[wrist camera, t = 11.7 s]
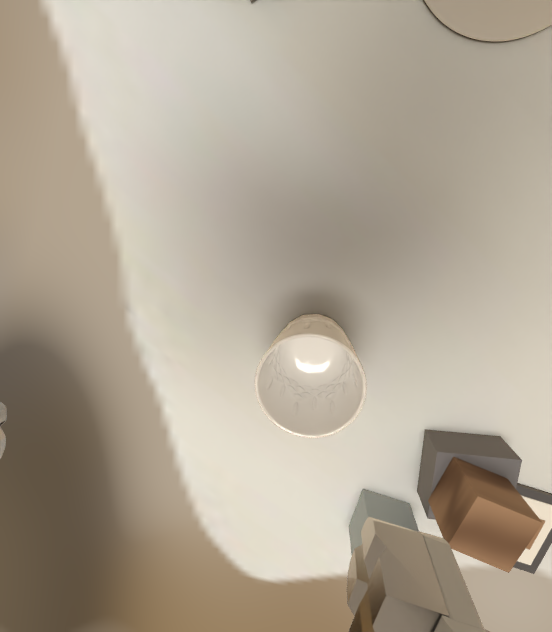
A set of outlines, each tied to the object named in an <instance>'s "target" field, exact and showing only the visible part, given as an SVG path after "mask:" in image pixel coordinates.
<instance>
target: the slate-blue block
mask: <svg viewBox="0 0 552 632" xmlns="http://www.w3.org/2000/svg"><path fill="white" fill-rule="evenodd" d="M368 517H372V518H375V519H378V520H382V521H385V522H388V523H391V524H395V525H398V526H401V527H405V528H408V529H411V530H414V531H417V532H418V531H419V530H418V527H417V524H416V521H415V518H414V515H413V513H412V510H411V507H410V504H409V503H407V502H403V501H400V500H397V499H394V498H391V497H388V496H384V495H381V494H378V493H375V492H372V491H369V490H365V489H363V490H362V493H361V495H360V498H359V501H358V503H357V506H356V509H355V511H354V514H353V517H352V519H351V522H350V525H349V532H350V543H351V553H352V555H353V552H354V549H355V548H357V547H358V546H360V545H362V536H361V530H362V528H363V525H364V523H365V521H366V520H367V518H368Z"/></svg>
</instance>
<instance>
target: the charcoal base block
mask: <svg viewBox="0 0 552 632" xmlns="http://www.w3.org/2000/svg"><path fill="white" fill-rule="evenodd" d="M453 457H456V458H458V459H461V460H463V461H466V462H468V463H471V464H473V465H475V466H478V467H480V468H483V469H485V470H488V471H490V472H493V473H495V474H498V475H500V476H503V477H505V478H507V479H508V480H509V481H510V482H511V484H512V485H513V486H514V487H515V489H516V487H517V482H518V477H519V472H520V467H521V462H522V460H521V459H520V458H519V456H518V455H517V454H516V453H515V452H514V451H513V450H512V449H511V448H510V447H509V445H508V444H507V443H506V442H505V441H504V440H503V439H502V438H501V437H500V436H490V435H479V434H468V433H457V432H445V431H434V430H425V434H424V441H423V449H422V457H421V465H420V472H419V480H418V488H417V492H418V494H419V497H420V500H421V502H422V505H423V508H424V510H425V513H426V515H427V518H428V519H435V516H434V514H433V511H432V509H431V507H430V504H429V502H428V500H429V498H430V496H431V494H432V493H433V491H434V489H435V487H436V486H437V484H438V482H439V480H440V479H441V477H442V475H443V473H444V472H445V470H446V468H447V466H448V465H449V463H450V461H451V460H452V458H453Z"/></svg>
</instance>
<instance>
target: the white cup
mask: <svg viewBox="0 0 552 632" xmlns="http://www.w3.org/2000/svg"><path fill="white" fill-rule="evenodd" d="M366 390H367V385H366V377H365V373H364V370H363V368H362V366H361V363H360V361H359V359H358V357H357V355H356V353H355V350H354V348H353V346H352V344H351V343H350V341H349V339H348V337H347V336H346V334H345V332H344V330H343V329H342V328H341V327H340V326H339V325H338V324H337V323H336V322H335V321H334V320H333V319H331V318H328V317H325V316H323V315H320V314H308V315H302V316H300V317H298V318H296V319H295V320H293V321H291V322H289V324H288V325H287V327H285V328H284V329H283V330H282V331H281V333H280V334H279V335H278V336H277V337H276V339H275V340H274V341H273V343H272V344H271V346H270V347H269V349H268V350H267V352H266V353H265V355H264V356H263V357H262V359H261V361H260V363H259V365H258V368H257V371H256V375H255V392H256V396H257V400H258V402H259V405H260V407H261V409H262V410H263V412H264V413H265V415H266V416H267V417H268V418H269V419H270V420H271V421H272V422H273V423H274V424H275V425H276V426H278V427H279V428H281V429H282V430H284V431H286V432H288V433H290V434H293V435H296V436H300V437H307V438H318V437H325V436H329V435H332V434H335V433H337V432H339V431H341V430H343V429H344V428H346V427H347V426H348V425H349V424H351V423H352V422H353V421H354V419H355V418H356V417H357V416H358V414H359V413H360V411H361V409H362V407H363V404H364V401H365V397H366Z"/></svg>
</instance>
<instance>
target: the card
mask: <svg viewBox="0 0 552 632" xmlns="http://www.w3.org/2000/svg"><path fill="white" fill-rule="evenodd" d="M516 490H517V491H518V492H519V494H520V495H521V496H522V497H523V499H524V500H525V501H526V502H527V504H528V505H529V506H530V507H531V509H532V510H533V511H534V512H535V514H536V515H537V516H538V517H539V519H540V520H541V521H542V523H543V524H542V525H541V527H540V528H539V529H538V531H537V532H536V534H535V535H534V537H533V538H532V540H531V541H530V543H529V544H528V546H527V547H526V548H525V550H524V551H523V553H522V554H521V556H520V557H519V559H518V560H517V562H516V563H515V565H514V566H513V567H515V568H518V569H521V570H524V571H527V572H530V573H533V574H534V573H535V571H536V570H537V568H538V566H539V564H540V563H541V561H542V559H543V557H544V556H545V554H546V552H547V550H548V548H549V547H550V545H551V543H552V494H550V493H547V492H544V491H541V490H537V489H534V488H531V487H528V486H525V485H521V484H518V483H517V487H516Z"/></svg>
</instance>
